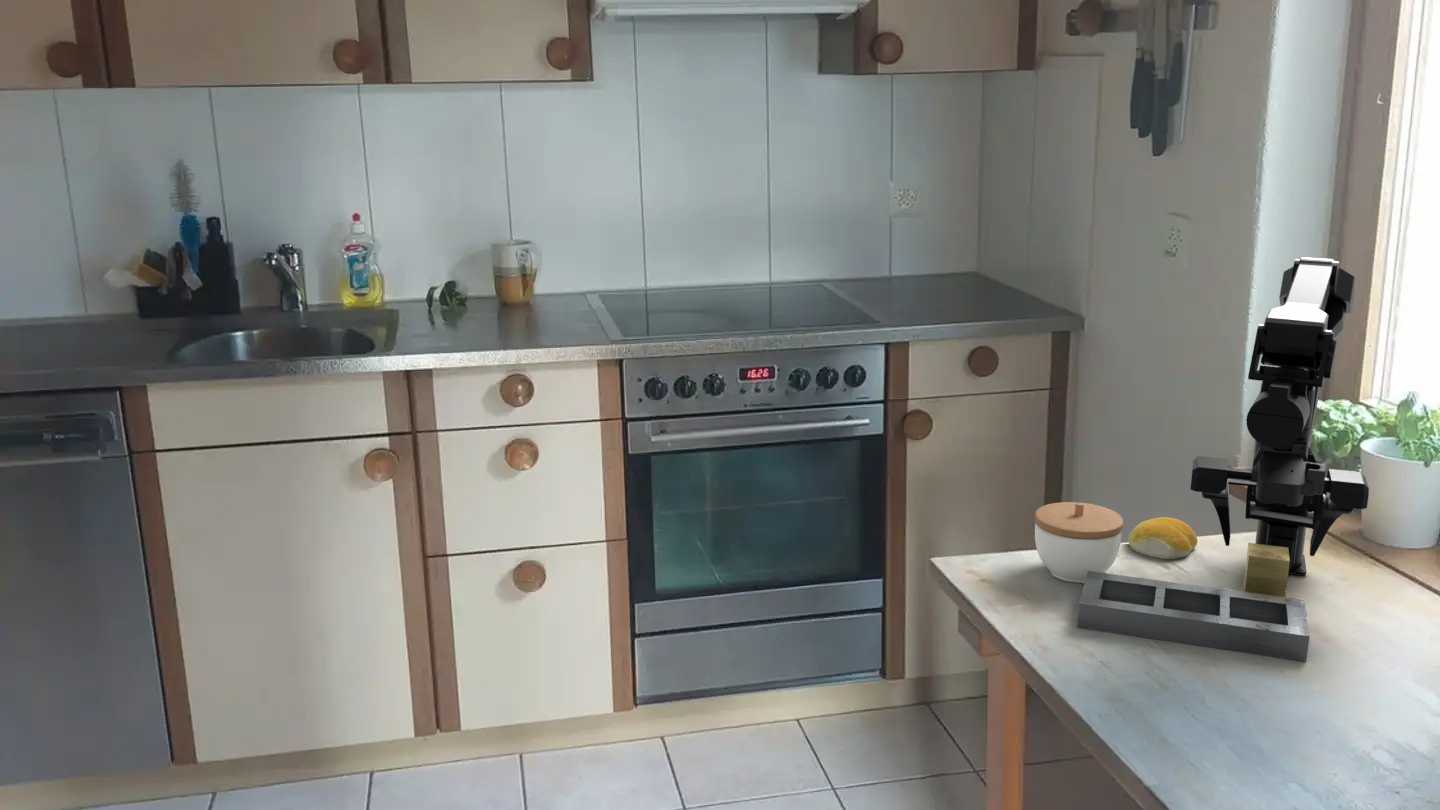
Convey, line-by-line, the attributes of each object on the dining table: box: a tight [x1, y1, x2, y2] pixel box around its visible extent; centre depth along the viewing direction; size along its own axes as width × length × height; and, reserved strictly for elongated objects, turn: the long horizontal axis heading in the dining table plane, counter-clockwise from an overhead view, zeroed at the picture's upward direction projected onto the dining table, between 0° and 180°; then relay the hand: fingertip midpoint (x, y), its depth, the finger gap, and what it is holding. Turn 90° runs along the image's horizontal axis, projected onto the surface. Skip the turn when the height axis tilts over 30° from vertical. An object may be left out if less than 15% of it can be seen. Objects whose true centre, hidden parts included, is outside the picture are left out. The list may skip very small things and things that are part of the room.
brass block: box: [1242, 542, 1290, 597], centre depth 148 cm, size 4×4×6 cm
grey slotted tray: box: [1076, 571, 1310, 662], centre depth 142 cm, size 10×24×3 cm, turn 68°
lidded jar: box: [1034, 501, 1124, 584], centre depth 156 cm, size 11×11×9 cm
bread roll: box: [1127, 516, 1198, 560], centre depth 165 cm, size 8×9×4 cm
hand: (1269, 549), depth 147 cm, fingers open, 9 cm apart
